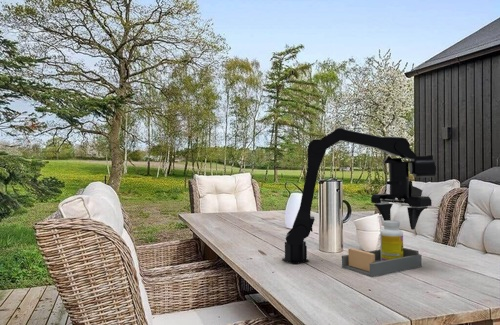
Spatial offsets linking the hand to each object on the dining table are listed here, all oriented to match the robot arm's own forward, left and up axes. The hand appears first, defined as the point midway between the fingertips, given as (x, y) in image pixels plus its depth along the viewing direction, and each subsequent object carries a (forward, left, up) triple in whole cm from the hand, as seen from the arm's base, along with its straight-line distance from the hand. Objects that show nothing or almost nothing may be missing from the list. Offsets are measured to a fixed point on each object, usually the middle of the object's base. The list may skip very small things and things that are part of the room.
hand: (400, 227), depth 122 cm
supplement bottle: (-4, 0, -11) cm, 11 cm away
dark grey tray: (-8, 0, -11) cm, 14 cm away
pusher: (-17, 0, -10) cm, 20 cm away
